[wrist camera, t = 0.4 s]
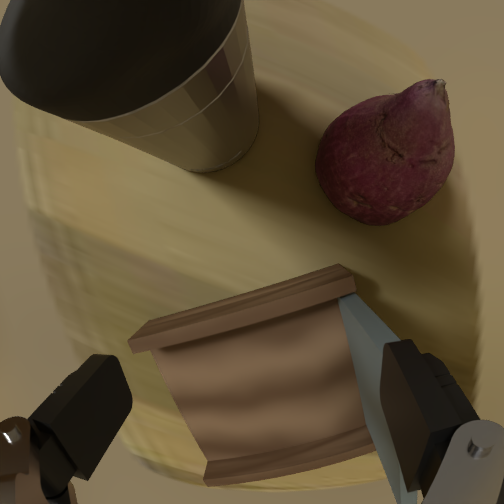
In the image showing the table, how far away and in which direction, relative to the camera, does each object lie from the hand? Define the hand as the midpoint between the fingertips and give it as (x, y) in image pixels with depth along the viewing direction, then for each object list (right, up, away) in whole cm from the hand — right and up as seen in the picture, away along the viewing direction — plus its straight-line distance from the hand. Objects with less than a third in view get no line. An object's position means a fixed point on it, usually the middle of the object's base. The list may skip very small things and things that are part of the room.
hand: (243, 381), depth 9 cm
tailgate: (+10, -6, +17) cm, 21 cm away
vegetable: (+11, +11, +17) cm, 23 cm away
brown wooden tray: (+2, -8, +20) cm, 22 cm away
